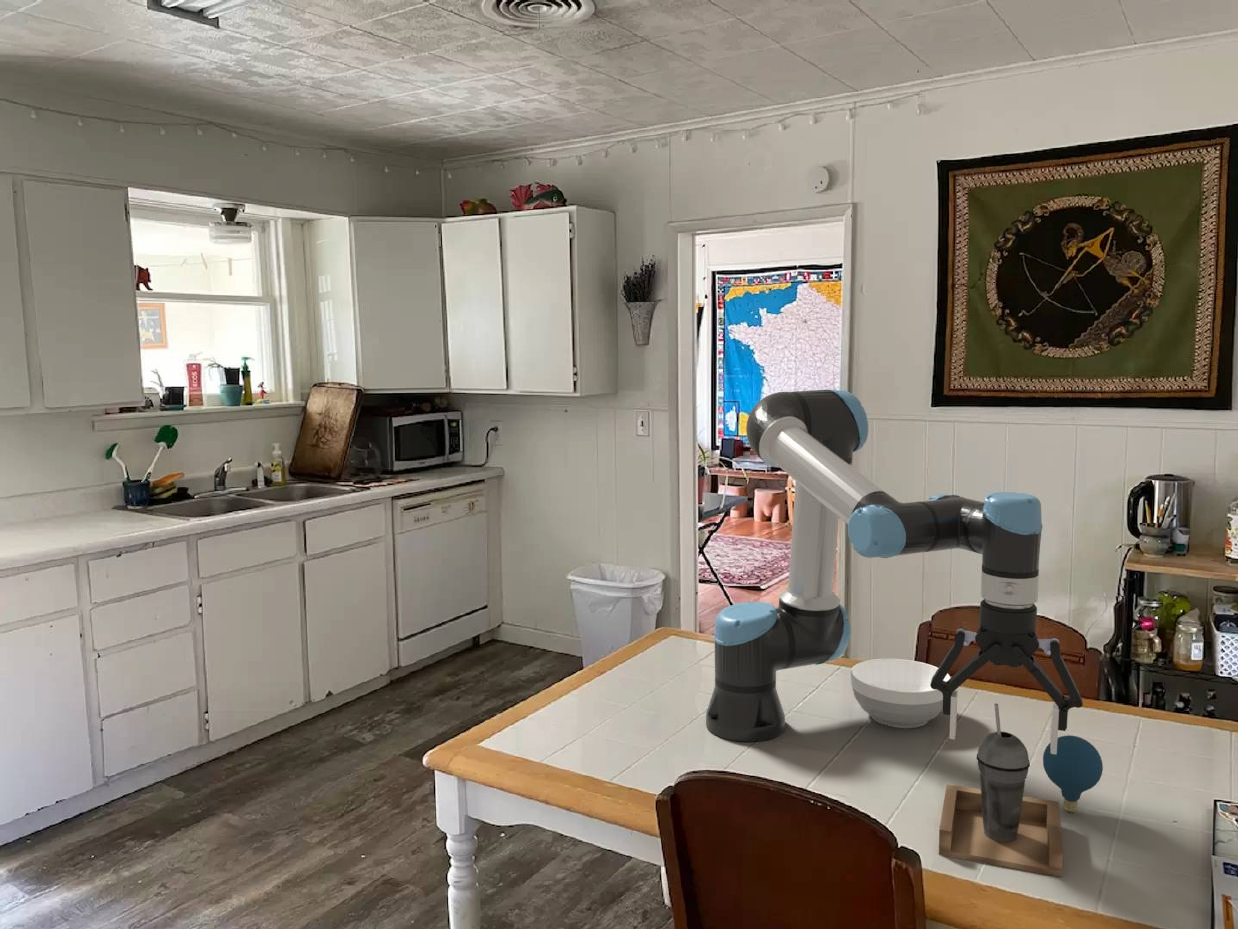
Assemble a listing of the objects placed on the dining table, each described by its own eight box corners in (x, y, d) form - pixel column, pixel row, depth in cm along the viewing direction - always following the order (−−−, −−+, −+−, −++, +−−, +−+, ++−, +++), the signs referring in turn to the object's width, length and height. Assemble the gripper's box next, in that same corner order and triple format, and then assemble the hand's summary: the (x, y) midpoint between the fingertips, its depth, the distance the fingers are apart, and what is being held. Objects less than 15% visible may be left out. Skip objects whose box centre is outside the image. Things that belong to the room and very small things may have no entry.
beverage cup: (1032, 850, 134) (1037, 715, 131) (978, 845, 135) (982, 712, 133) (1021, 824, 141) (1026, 696, 138) (970, 820, 142) (974, 693, 140)
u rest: (938, 854, 134) (939, 829, 134) (946, 806, 148) (946, 784, 148) (1061, 877, 128) (1062, 851, 128) (1057, 825, 142) (1058, 801, 141)
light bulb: (1030, 799, 150) (1033, 728, 148) (1080, 797, 151) (1083, 725, 149) (1059, 826, 142) (1062, 750, 140) (1112, 823, 142) (1116, 748, 141)
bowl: (842, 729, 179) (843, 685, 178) (857, 694, 196) (857, 654, 195) (947, 743, 172) (948, 697, 171) (952, 706, 189) (953, 664, 188)
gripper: (914, 600, 135) (910, 739, 138) (1109, 618, 125) (1099, 768, 128) (919, 587, 142) (915, 720, 145) (1104, 603, 132) (1095, 746, 135)
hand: (1002, 743), depth 137 cm, fingers open, 13 cm apart
